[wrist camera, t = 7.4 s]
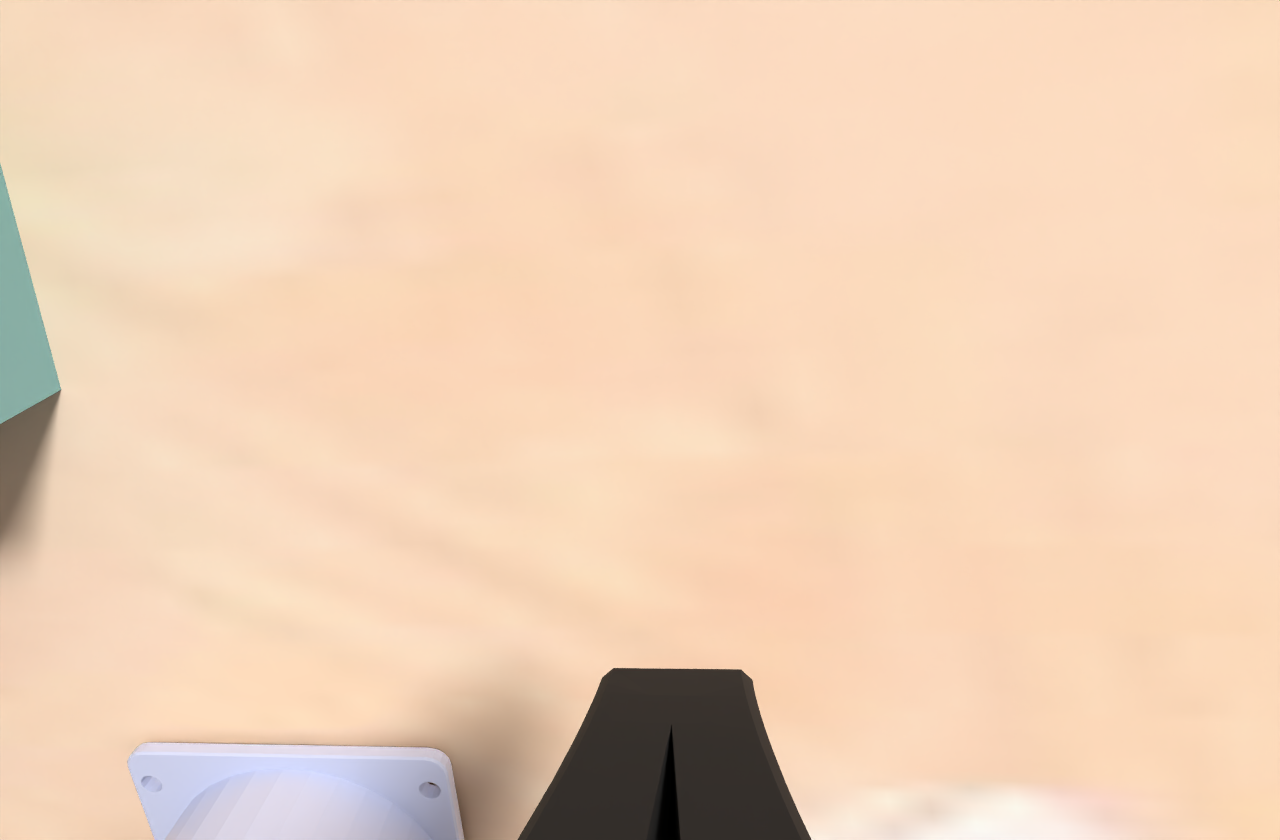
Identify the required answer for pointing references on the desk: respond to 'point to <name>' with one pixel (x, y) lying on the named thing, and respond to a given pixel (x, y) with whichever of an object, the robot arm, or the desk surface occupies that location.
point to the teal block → (20, 325)
